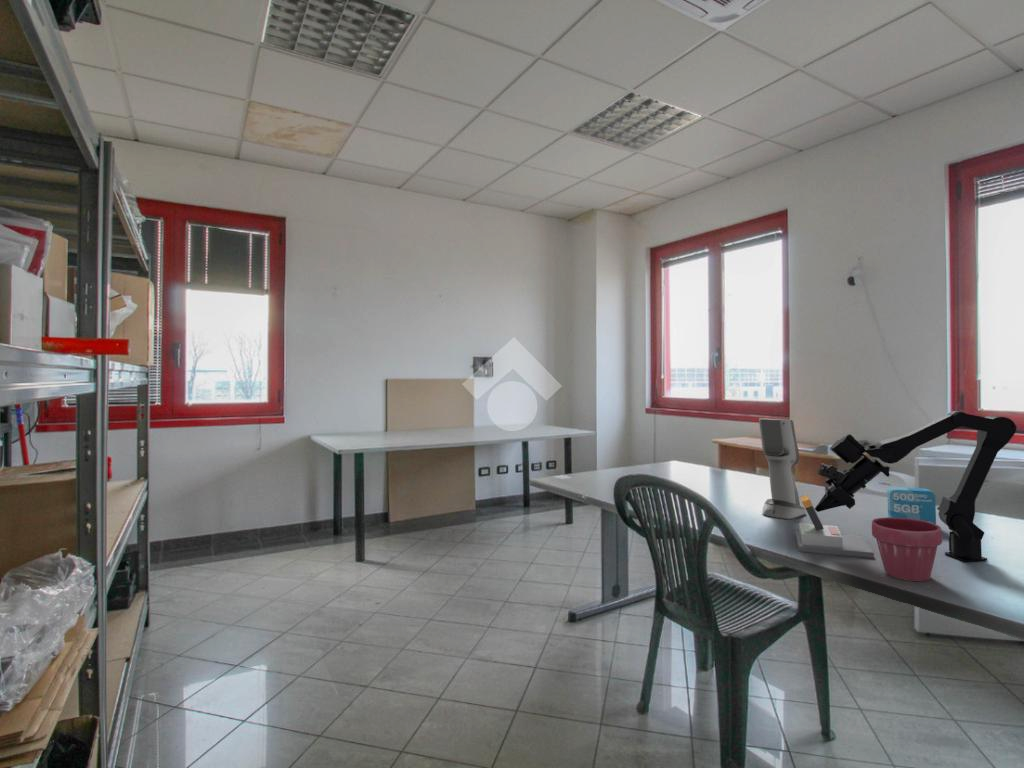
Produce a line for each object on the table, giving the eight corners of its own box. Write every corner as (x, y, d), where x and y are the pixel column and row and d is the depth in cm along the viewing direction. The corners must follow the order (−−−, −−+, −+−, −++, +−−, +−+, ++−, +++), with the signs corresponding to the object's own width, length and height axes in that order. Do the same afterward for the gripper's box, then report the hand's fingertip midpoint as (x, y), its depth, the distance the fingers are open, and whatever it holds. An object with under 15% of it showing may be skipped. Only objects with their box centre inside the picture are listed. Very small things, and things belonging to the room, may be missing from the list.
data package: (890, 526, 175) (889, 489, 175) (888, 522, 179) (887, 486, 179) (936, 529, 170) (935, 491, 170) (932, 525, 174) (931, 488, 174)
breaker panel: (863, 541, 161) (863, 525, 161) (873, 558, 146) (873, 541, 146) (795, 535, 168) (795, 520, 168) (799, 551, 154) (798, 535, 154)
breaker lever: (821, 522, 161) (807, 494, 163) (824, 528, 155) (809, 499, 156) (813, 524, 162) (800, 496, 164) (816, 531, 156) (801, 501, 157)
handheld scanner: (756, 514, 195) (754, 418, 194) (775, 508, 202) (772, 415, 202) (789, 520, 185) (786, 419, 185) (807, 514, 193) (804, 416, 192)
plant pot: (866, 562, 143) (865, 514, 143) (930, 567, 138) (929, 518, 138) (881, 582, 130) (879, 529, 130) (952, 588, 125) (951, 533, 125)
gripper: (831, 450, 165) (792, 484, 170) (840, 459, 148) (795, 496, 153) (862, 477, 162) (821, 510, 166) (874, 489, 145) (828, 526, 149)
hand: (816, 510), depth 159 cm, fingers closed
